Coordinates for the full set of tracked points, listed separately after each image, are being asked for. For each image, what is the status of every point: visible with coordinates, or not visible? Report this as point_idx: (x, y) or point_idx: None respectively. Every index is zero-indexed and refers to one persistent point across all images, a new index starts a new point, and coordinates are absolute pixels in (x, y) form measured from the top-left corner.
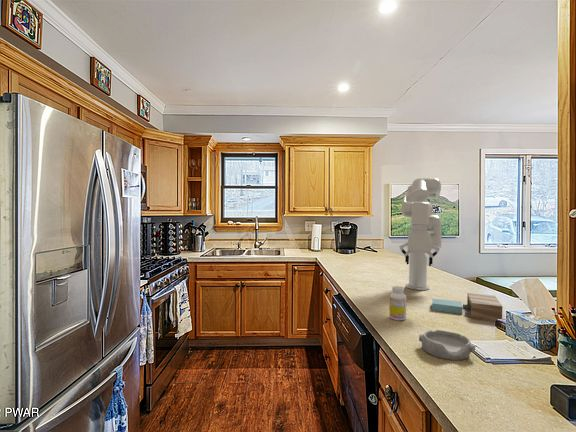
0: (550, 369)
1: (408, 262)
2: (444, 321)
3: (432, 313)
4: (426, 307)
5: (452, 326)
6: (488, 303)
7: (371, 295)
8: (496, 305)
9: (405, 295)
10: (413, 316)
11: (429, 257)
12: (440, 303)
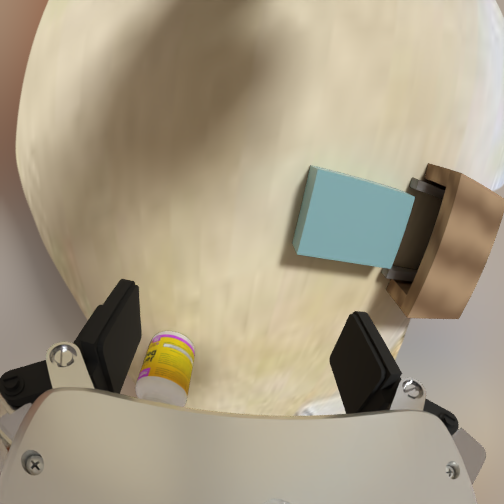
0: None
1: (135, 334)
2: (299, 338)
3: (283, 281)
4: (277, 214)
5: (307, 361)
6: (447, 305)
7: (66, 113)
8: (452, 316)
9: (182, 405)
10: (216, 324)
11: (368, 398)
12: (331, 245)
